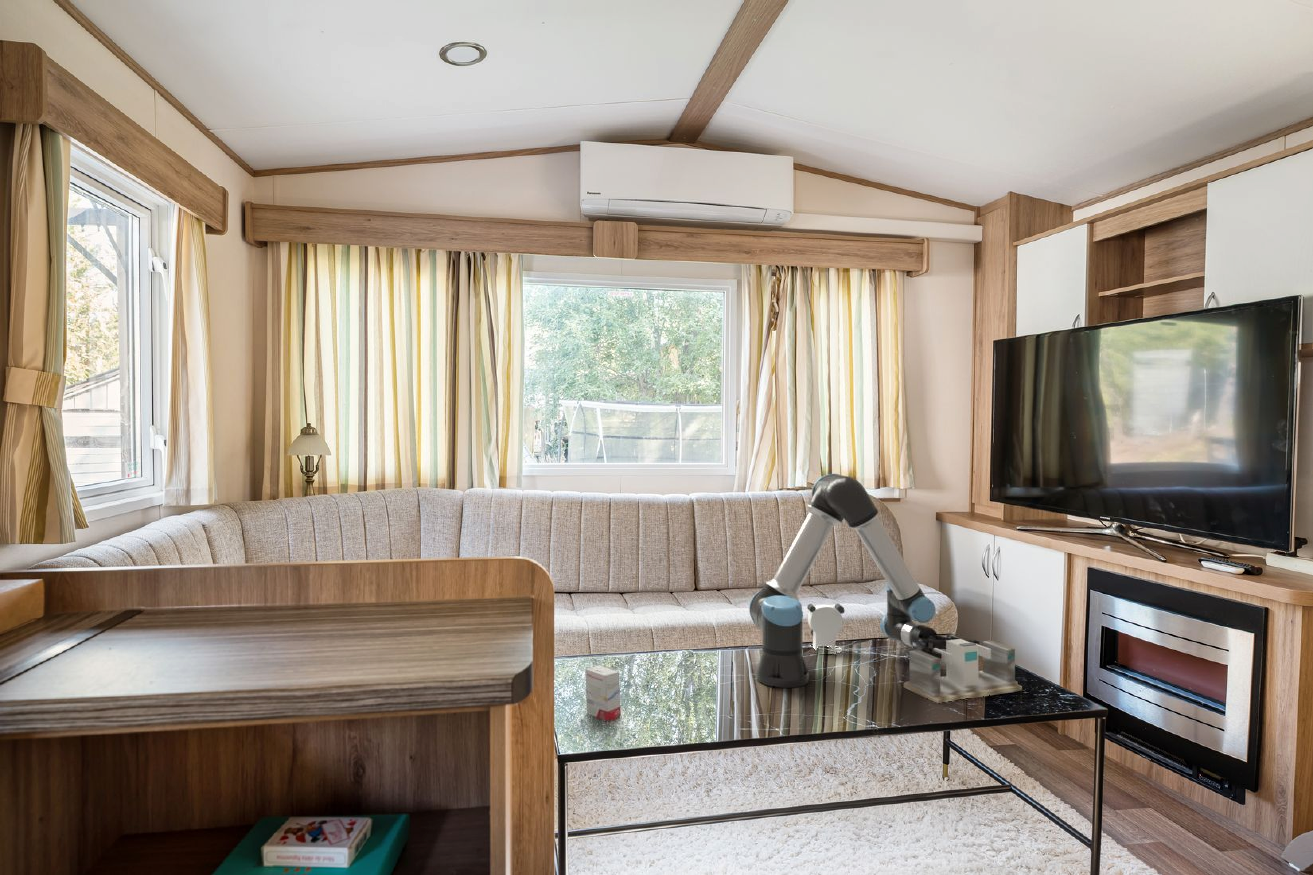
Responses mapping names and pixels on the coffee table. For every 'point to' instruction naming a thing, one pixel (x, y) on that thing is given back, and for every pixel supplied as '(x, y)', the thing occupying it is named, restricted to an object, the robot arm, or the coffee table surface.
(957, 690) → the board
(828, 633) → the panda figurine
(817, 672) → the coffee table surface
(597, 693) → the ink box
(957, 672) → the block
